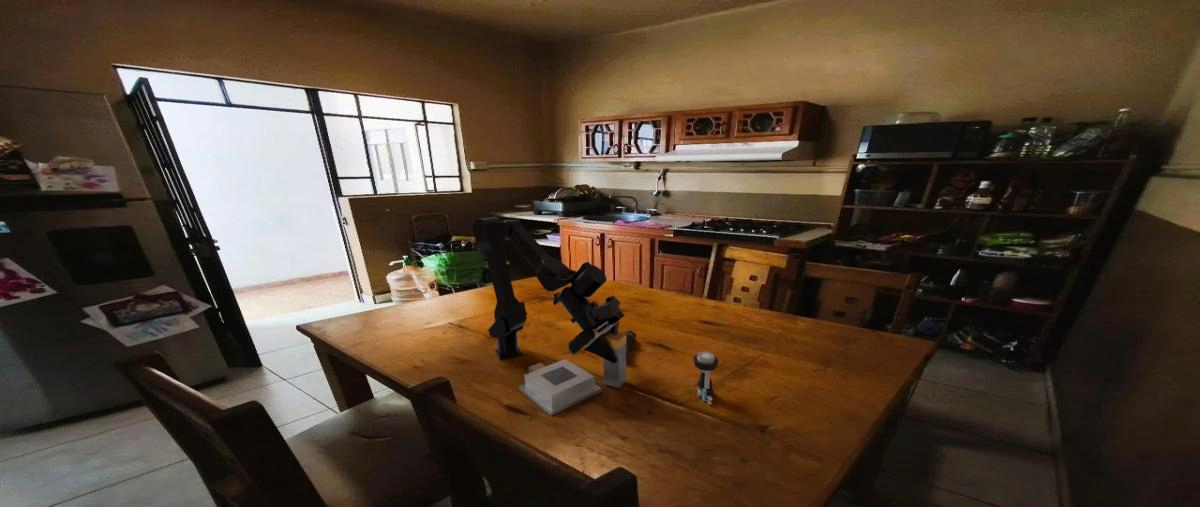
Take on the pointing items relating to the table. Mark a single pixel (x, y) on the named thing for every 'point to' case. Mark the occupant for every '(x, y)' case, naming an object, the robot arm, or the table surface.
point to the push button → (705, 374)
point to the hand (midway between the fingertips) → (620, 358)
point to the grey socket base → (558, 385)
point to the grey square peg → (617, 371)
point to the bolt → (629, 342)
